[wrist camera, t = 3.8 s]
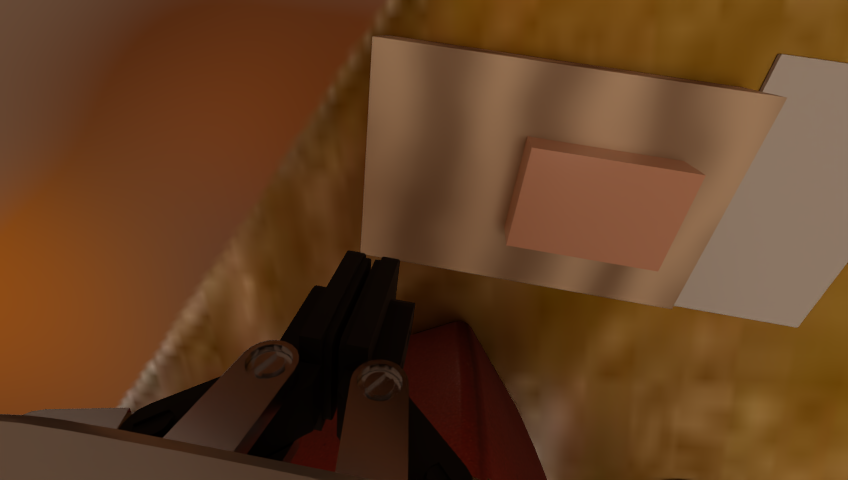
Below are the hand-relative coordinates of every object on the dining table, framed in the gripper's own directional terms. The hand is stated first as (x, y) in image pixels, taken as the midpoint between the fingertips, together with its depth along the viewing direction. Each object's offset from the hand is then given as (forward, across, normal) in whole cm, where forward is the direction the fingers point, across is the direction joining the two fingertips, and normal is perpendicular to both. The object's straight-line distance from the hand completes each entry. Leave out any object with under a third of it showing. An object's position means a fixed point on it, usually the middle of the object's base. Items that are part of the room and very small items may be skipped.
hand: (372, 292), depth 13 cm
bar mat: (+17, -25, 0) cm, 30 cm away
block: (+13, -10, 0) cm, 17 cm away
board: (+18, -7, 0) cm, 19 cm away
